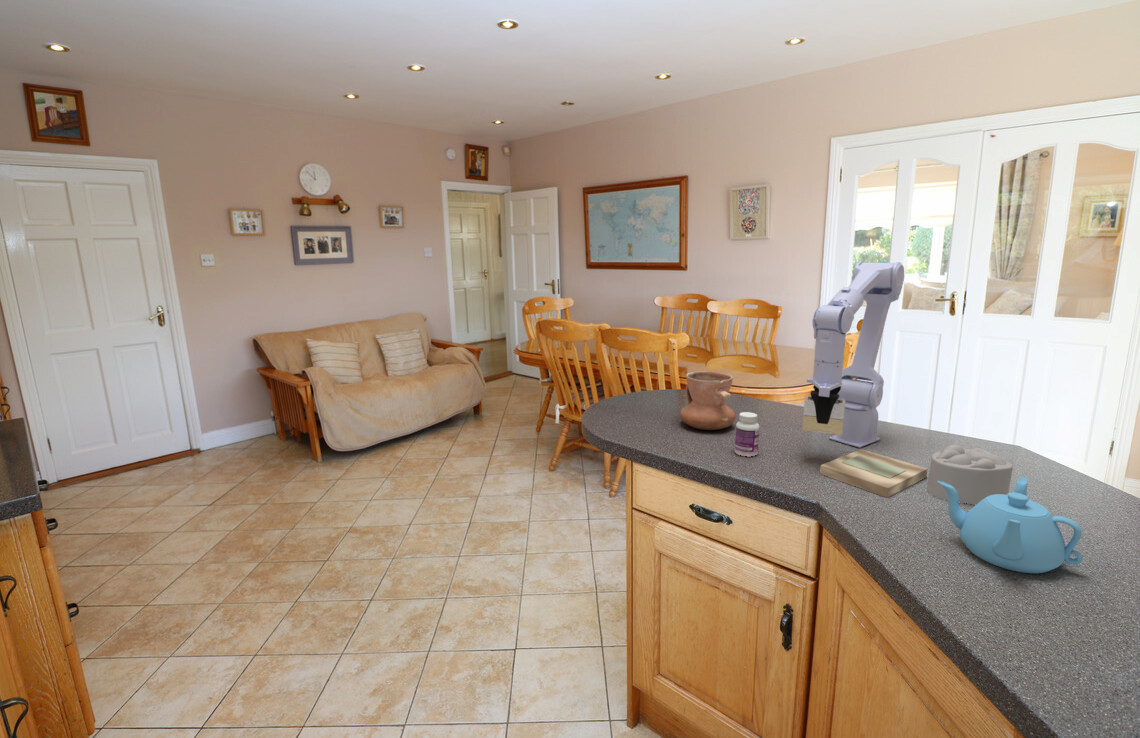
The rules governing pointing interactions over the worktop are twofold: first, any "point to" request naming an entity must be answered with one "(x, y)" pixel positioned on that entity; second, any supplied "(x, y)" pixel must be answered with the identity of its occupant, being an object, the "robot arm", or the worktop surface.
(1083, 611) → the worktop surface
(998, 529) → the teapot
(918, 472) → the birch stand
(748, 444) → the pill bottle
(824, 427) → the block
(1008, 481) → the lumpy-topped squat cylinder
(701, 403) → the ceramic jug
